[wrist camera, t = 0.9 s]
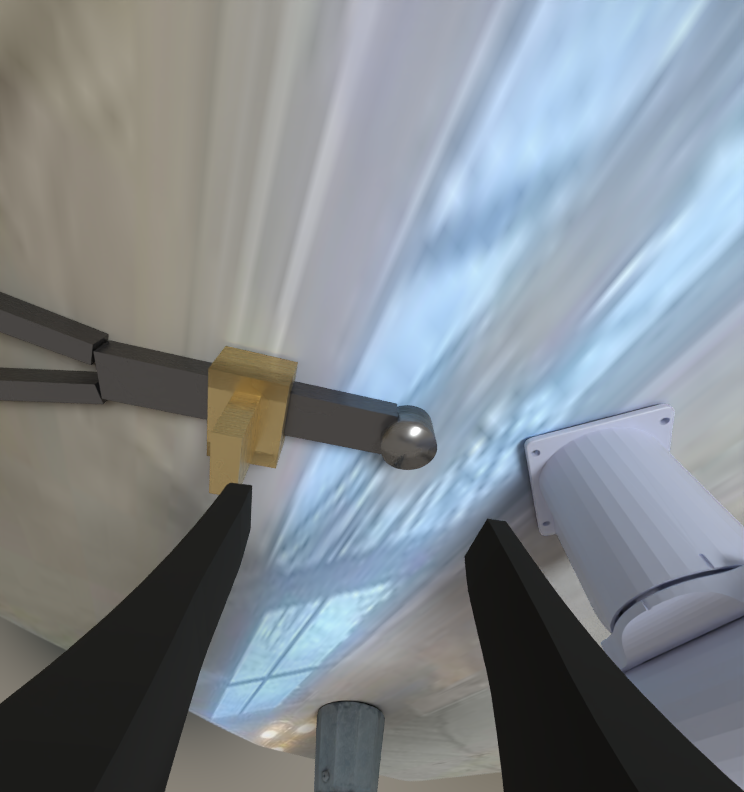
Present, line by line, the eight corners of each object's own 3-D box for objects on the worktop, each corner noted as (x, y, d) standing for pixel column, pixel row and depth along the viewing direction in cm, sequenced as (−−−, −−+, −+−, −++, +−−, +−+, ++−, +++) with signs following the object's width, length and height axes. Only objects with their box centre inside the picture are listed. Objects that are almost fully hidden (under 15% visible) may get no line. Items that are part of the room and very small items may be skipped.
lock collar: (297, 362, 18) (274, 427, 14) (284, 440, 21) (261, 514, 17) (225, 346, 18) (178, 408, 13) (221, 428, 21) (181, 501, 16)
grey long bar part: (460, 365, 19) (469, 385, 17) (406, 484, 24) (408, 508, 22) (-225, 198, 14) (-302, 204, 13) (-117, 385, 19) (-163, 407, 18)
